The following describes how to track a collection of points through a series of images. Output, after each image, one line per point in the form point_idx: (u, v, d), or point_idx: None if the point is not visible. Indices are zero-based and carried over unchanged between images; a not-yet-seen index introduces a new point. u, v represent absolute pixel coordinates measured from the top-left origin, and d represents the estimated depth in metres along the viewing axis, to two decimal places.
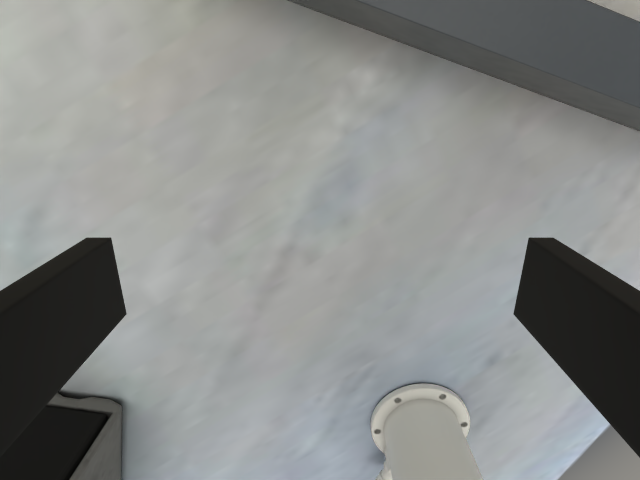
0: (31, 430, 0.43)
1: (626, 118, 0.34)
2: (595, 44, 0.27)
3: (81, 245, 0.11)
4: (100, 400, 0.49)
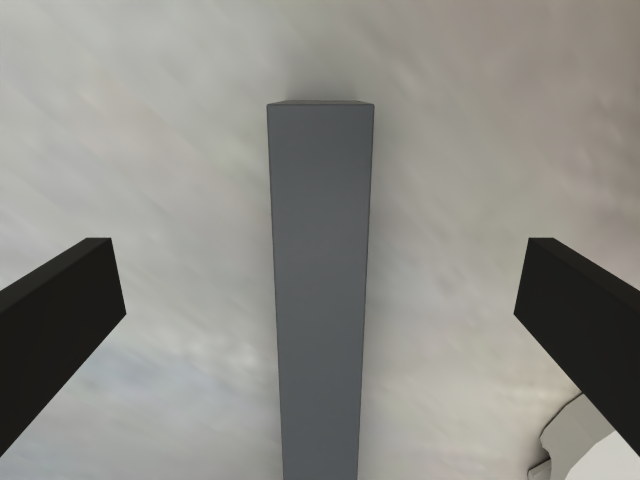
0: None
1: None
2: None
3: (81, 245, 0.11)
4: None
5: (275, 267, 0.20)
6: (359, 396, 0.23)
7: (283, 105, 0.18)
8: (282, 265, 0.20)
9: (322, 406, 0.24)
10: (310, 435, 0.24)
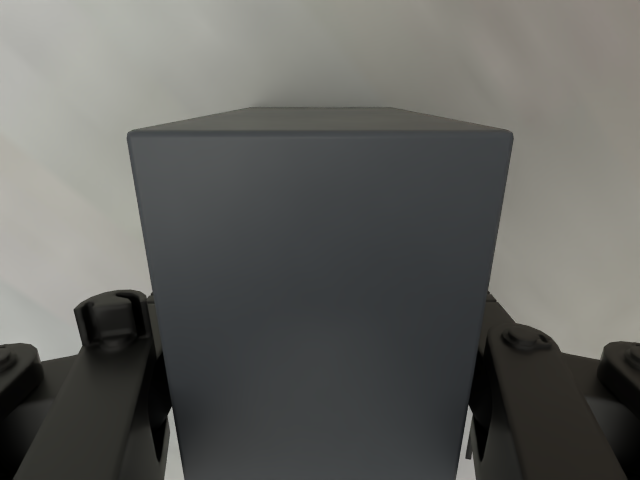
0: None
1: None
2: None
3: None
4: None
5: None
6: None
7: (186, 135, 0.05)
8: None
9: None
10: None
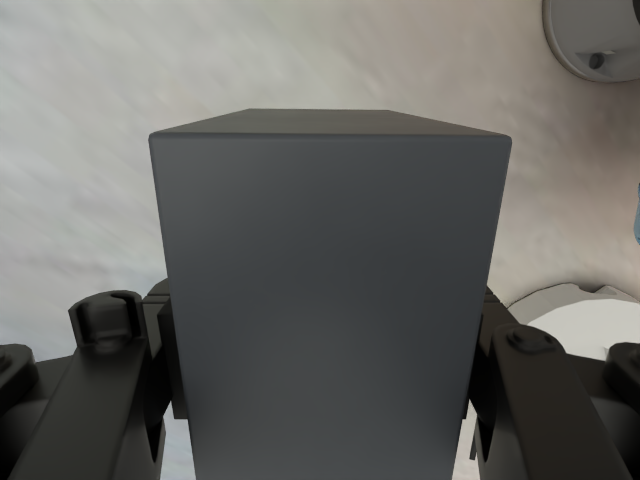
0: None
1: None
2: None
3: None
4: None
5: None
6: None
7: (205, 137, 0.05)
8: None
9: None
10: None
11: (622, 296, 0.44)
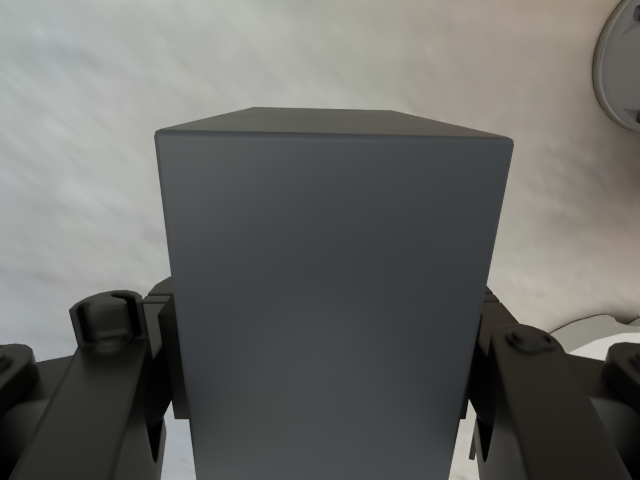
0: None
1: None
2: None
3: None
4: None
5: None
6: None
7: (210, 135, 0.05)
8: None
9: None
10: None
11: None
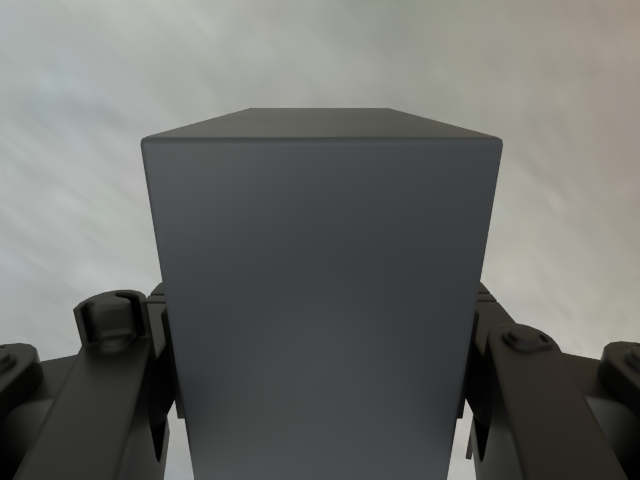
0: None
1: None
2: None
3: None
4: None
5: None
6: None
7: (196, 142, 0.05)
8: None
9: None
10: None
11: None
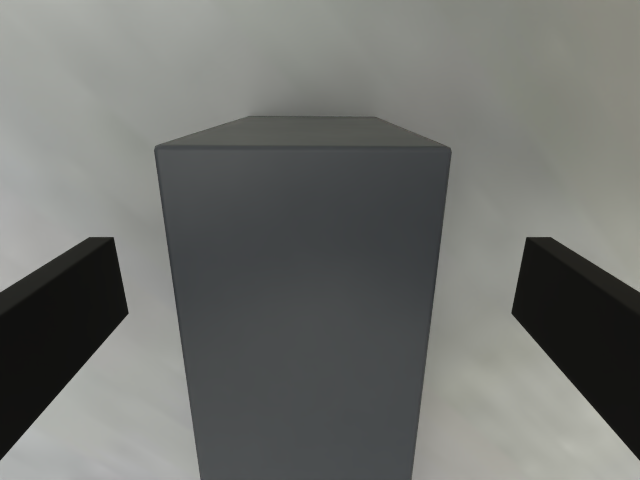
0: None
1: None
2: None
3: (83, 245, 0.11)
4: None
5: None
6: None
7: (200, 149, 0.06)
8: None
9: None
10: None
11: None
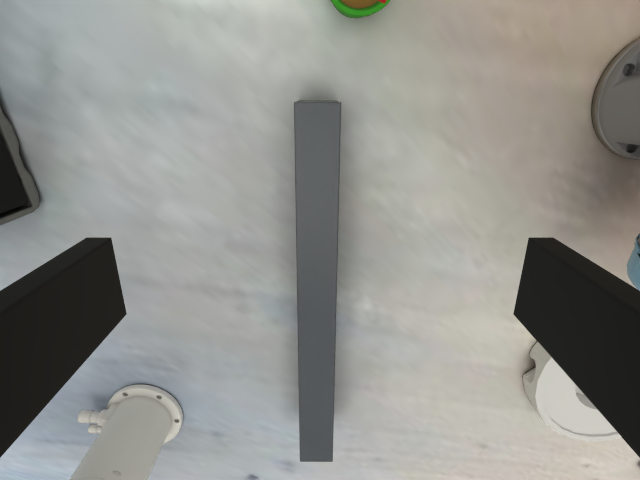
0: None
1: None
2: (318, 370, 0.53)
3: (80, 246, 0.11)
4: (34, 186, 0.52)
5: (296, 178, 0.44)
6: (336, 249, 0.47)
7: (301, 102, 0.41)
8: (299, 177, 0.44)
9: (318, 254, 0.47)
10: (312, 272, 0.48)
11: None
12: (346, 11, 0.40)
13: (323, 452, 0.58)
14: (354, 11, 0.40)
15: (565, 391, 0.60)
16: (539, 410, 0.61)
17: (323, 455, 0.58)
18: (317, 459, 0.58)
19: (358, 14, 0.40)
